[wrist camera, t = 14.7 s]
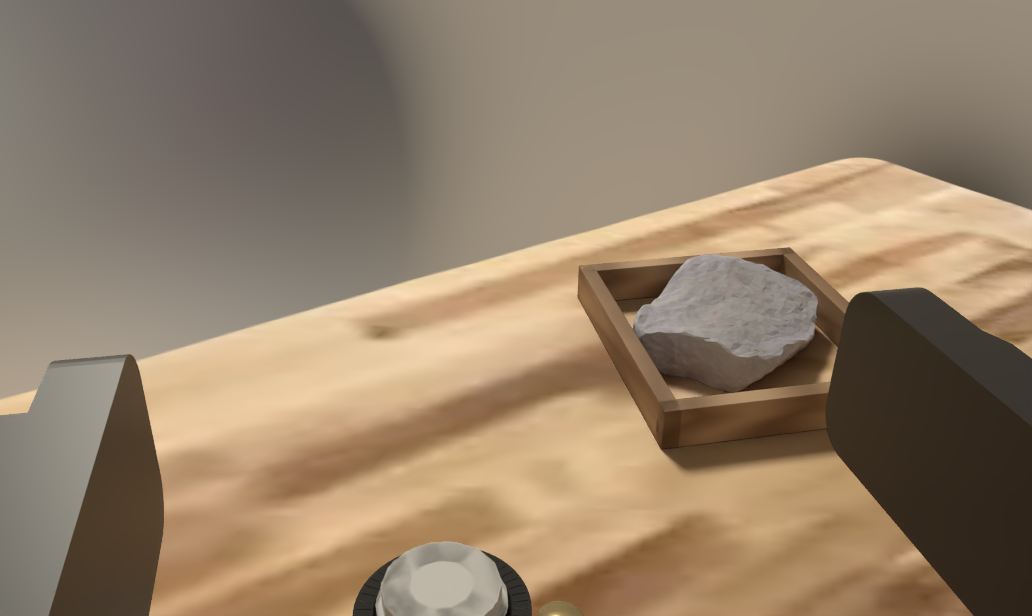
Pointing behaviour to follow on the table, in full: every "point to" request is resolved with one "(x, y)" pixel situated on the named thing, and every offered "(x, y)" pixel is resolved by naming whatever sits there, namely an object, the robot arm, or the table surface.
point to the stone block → (726, 322)
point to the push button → (444, 585)
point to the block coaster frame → (710, 413)
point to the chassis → (559, 609)
